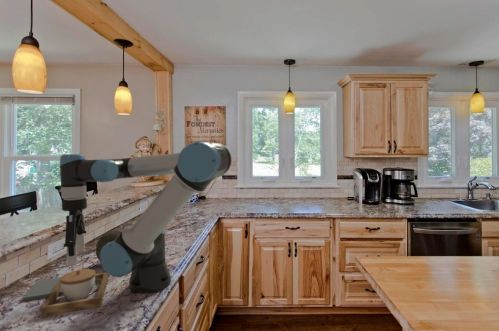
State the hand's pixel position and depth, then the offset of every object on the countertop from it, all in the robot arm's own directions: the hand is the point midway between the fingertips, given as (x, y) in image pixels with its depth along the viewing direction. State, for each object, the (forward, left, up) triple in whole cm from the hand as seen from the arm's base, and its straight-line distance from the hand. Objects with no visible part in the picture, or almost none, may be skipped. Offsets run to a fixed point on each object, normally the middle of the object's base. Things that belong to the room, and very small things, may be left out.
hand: (76, 258), depth 103 cm
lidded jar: (0, 0, -14) cm, 14 cm away
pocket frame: (0, 0, -14) cm, 14 cm away
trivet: (+10, -11, -14) cm, 20 cm away
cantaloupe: (-9, -29, -14) cm, 33 cm away
